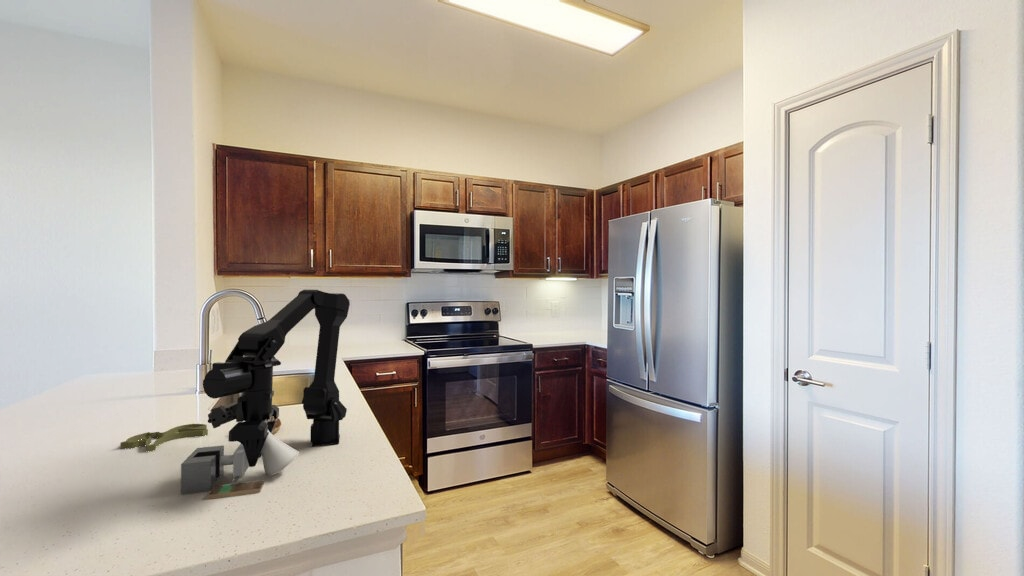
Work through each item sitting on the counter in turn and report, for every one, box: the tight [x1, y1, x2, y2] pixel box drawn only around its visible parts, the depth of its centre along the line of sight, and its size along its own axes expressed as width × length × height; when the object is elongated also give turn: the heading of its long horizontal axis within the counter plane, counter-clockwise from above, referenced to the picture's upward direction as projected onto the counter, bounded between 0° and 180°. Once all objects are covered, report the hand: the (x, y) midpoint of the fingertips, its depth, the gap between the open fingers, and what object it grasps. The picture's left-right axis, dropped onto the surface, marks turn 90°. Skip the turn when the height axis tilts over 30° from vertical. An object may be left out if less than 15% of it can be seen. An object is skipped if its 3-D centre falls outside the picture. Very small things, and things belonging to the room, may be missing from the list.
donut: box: [243, 417, 282, 435], centre depth 121 cm, size 11×11×4 cm
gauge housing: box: [180, 445, 265, 500], centre depth 90 cm, size 14×13×6 cm
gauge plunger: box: [220, 443, 250, 487], centre depth 90 cm, size 5×12×5 cm, turn 20°
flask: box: [261, 430, 300, 477], centre depth 94 cm, size 7×7×10 cm
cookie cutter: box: [119, 423, 209, 453], centre depth 115 cm, size 18×12×2 cm, turn 154°
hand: (255, 461), depth 93 cm, fingers open, 5 cm apart
